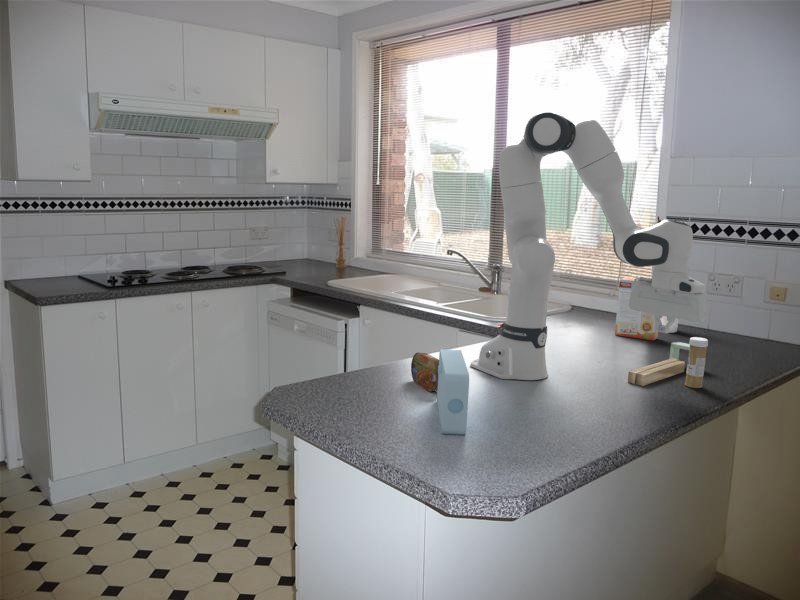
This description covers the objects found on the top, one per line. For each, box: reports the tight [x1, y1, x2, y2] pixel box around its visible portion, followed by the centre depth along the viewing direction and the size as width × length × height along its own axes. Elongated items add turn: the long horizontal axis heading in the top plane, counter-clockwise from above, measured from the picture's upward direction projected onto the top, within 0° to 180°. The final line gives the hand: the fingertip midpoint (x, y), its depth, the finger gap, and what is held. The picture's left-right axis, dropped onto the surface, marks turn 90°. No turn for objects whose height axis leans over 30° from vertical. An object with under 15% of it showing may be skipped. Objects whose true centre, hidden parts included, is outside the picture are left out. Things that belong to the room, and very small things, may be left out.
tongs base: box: [627, 358, 684, 385], centre depth 198 cm, size 3×27×3 cm, turn 133°
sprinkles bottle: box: [684, 336, 709, 389], centre depth 188 cm, size 5×5×14 cm
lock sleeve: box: [668, 341, 690, 359], centre depth 208 cm, size 8×4×7 cm, turn 43°
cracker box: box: [614, 277, 659, 341], centre depth 248 cm, size 14×6×21 cm, turn 58°
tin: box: [410, 352, 439, 393], centre depth 178 cm, size 15×3×8 cm, turn 23°
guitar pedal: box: [436, 348, 470, 436], centre depth 155 cm, size 23×6×13 cm, turn 0°
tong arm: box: [635, 361, 686, 387], centre depth 196 cm, size 2×24×3 cm, turn 133°
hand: (662, 332), depth 186 cm, fingers closed
